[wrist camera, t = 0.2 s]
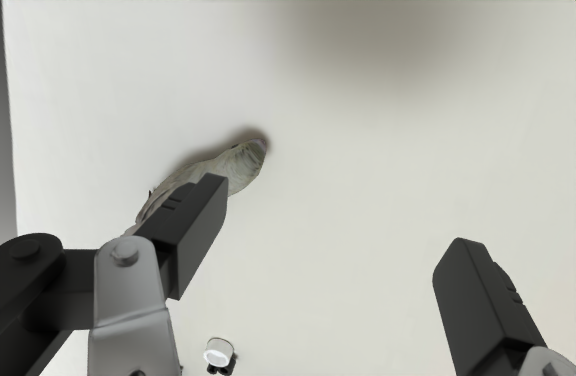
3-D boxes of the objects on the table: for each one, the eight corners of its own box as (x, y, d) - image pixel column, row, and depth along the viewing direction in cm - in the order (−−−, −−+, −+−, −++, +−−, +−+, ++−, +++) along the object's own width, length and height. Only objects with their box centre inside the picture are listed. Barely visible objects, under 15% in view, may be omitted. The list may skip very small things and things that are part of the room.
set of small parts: (246, 345, 50) (239, 365, 47) (199, 405, 62) (191, 424, 59) (133, 288, 48) (119, 306, 45) (109, 361, 61) (96, 379, 58)
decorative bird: (283, 161, 30) (263, 205, 23) (179, 223, 37) (143, 269, 31) (248, 115, 28) (216, 150, 22) (145, 190, 35) (100, 232, 29)
